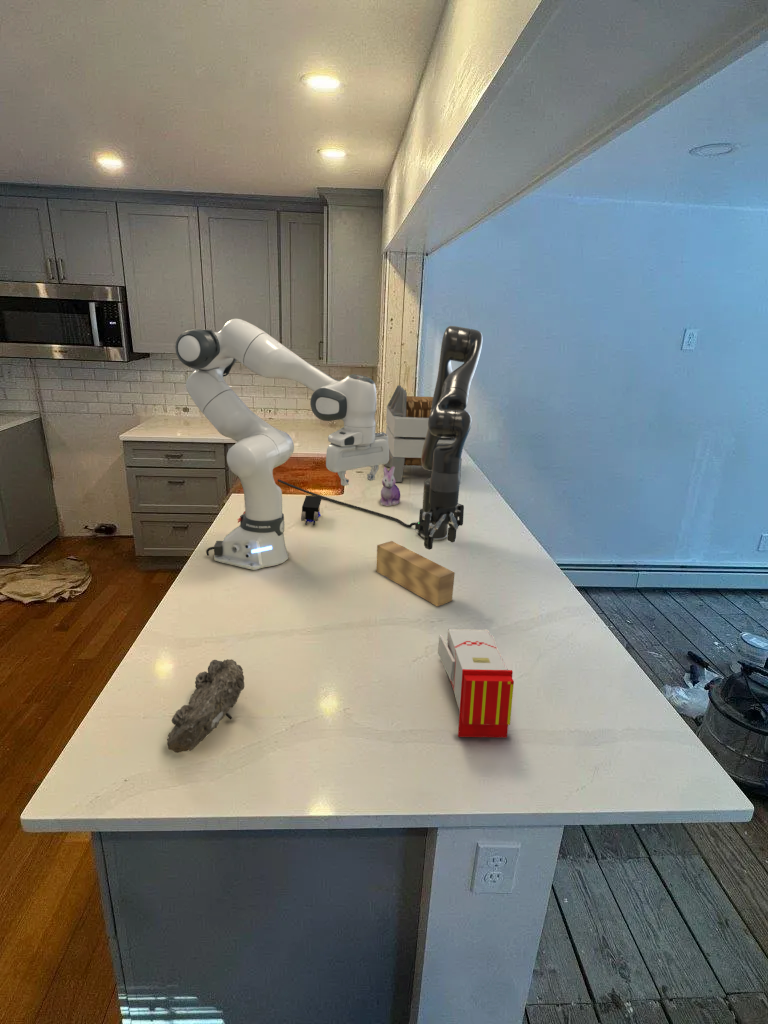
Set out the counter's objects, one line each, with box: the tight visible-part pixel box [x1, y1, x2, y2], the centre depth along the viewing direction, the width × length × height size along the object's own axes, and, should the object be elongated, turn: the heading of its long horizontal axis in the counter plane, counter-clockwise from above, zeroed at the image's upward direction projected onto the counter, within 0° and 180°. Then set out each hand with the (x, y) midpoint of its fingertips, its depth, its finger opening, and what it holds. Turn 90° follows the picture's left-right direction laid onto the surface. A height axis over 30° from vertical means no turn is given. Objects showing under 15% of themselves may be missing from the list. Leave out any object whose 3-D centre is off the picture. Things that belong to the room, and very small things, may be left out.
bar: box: [375, 540, 456, 607], centre depth 162 cm, size 26×6×9 cm, turn 40°
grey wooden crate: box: [383, 384, 463, 483], centre depth 268 cm, size 34×33×41 cm
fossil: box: [166, 658, 245, 754], centre depth 106 cm, size 22×10×15 cm
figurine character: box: [300, 495, 323, 526], centre depth 207 cm, size 7×8×15 cm
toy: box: [437, 628, 515, 738], centre depth 117 cm, size 12×13×30 cm
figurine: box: [379, 466, 401, 507], centre depth 228 cm, size 9×10×15 cm
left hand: (358, 482), depth 162 cm, fingers open, 8 cm apart
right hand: (439, 544), depth 151 cm, fingers open, 8 cm apart
